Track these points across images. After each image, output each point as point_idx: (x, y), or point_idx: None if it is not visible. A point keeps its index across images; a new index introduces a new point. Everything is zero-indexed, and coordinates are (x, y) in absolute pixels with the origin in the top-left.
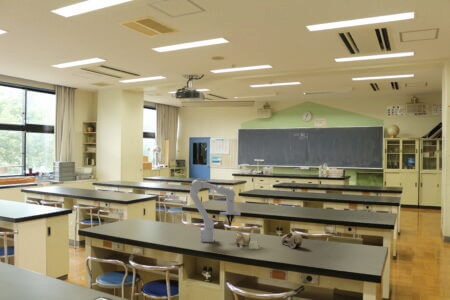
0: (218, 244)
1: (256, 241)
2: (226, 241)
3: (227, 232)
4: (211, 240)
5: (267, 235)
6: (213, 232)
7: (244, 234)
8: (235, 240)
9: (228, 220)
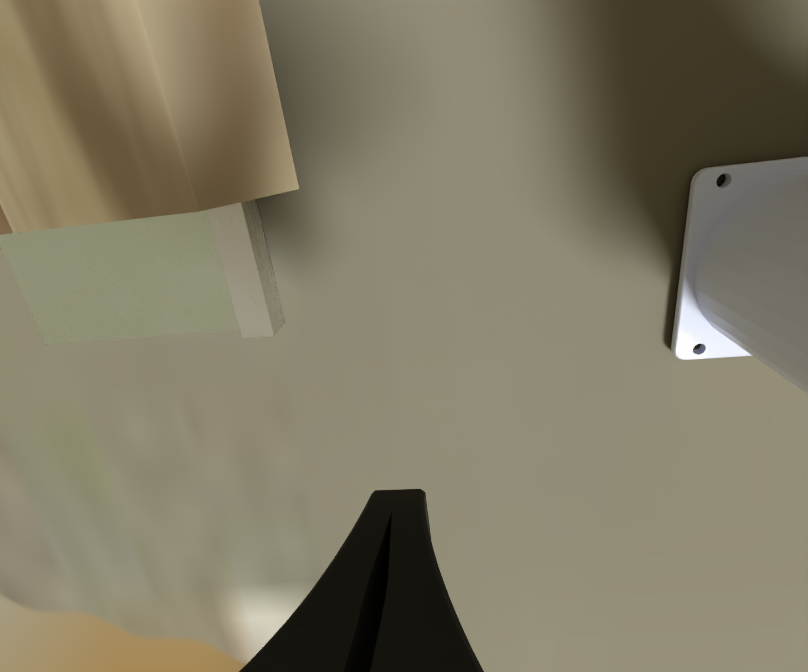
0: (607, 12)
1: (33, 304)
2: (467, 261)
3: (482, 666)
4: (747, 197)
5: (33, 587)
6: (797, 292)
7: (61, 202)
8: (266, 51)
9: (439, 611)
